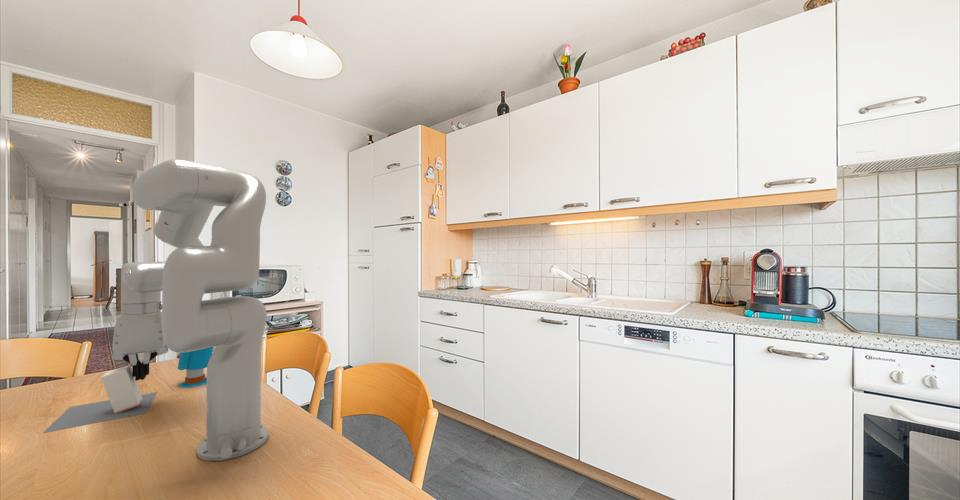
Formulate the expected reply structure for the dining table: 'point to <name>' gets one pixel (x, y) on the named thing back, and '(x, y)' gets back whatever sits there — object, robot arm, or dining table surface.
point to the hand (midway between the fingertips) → (140, 378)
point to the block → (122, 389)
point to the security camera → (194, 366)
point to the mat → (97, 413)
